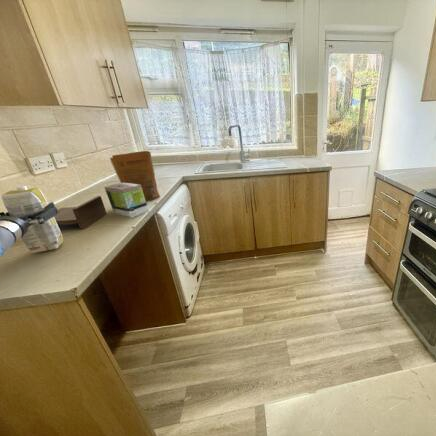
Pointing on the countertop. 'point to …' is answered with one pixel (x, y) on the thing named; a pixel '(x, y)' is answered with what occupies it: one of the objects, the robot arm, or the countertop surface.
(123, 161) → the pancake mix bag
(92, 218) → the shelf
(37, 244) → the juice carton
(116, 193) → the tea box
